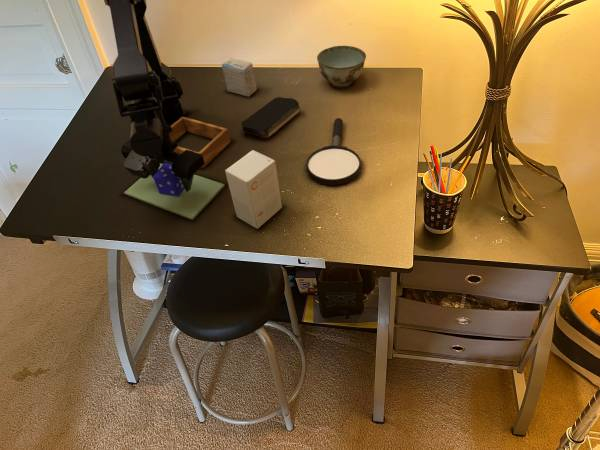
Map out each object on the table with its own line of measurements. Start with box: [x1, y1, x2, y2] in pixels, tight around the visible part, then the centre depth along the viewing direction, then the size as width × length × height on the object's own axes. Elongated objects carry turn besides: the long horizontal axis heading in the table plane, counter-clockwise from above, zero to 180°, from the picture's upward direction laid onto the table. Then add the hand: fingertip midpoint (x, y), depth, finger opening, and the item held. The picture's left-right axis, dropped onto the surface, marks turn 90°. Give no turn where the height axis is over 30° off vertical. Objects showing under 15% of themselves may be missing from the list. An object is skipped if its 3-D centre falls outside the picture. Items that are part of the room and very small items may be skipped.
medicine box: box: [221, 57, 258, 98], centre depth 132 cm, size 8×4×9 cm, turn 58°
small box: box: [224, 149, 283, 230], centre depth 94 cm, size 8×6×13 cm
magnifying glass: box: [306, 117, 362, 186], centre depth 110 cm, size 12×24×2 cm, turn 173°
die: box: [153, 162, 184, 196], centre depth 104 cm, size 5×5×5 cm
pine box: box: [169, 116, 231, 169], centre depth 116 cm, size 15×12×4 cm
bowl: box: [316, 45, 367, 88], centre depth 131 cm, size 14×13×8 cm
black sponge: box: [240, 96, 301, 139], centre depth 121 cm, size 16×8×4 cm, turn 144°
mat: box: [123, 163, 226, 221], centre depth 106 cm, size 20×12×1 cm, turn 61°
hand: (172, 185), depth 105 cm, fingers open, 9 cm apart
